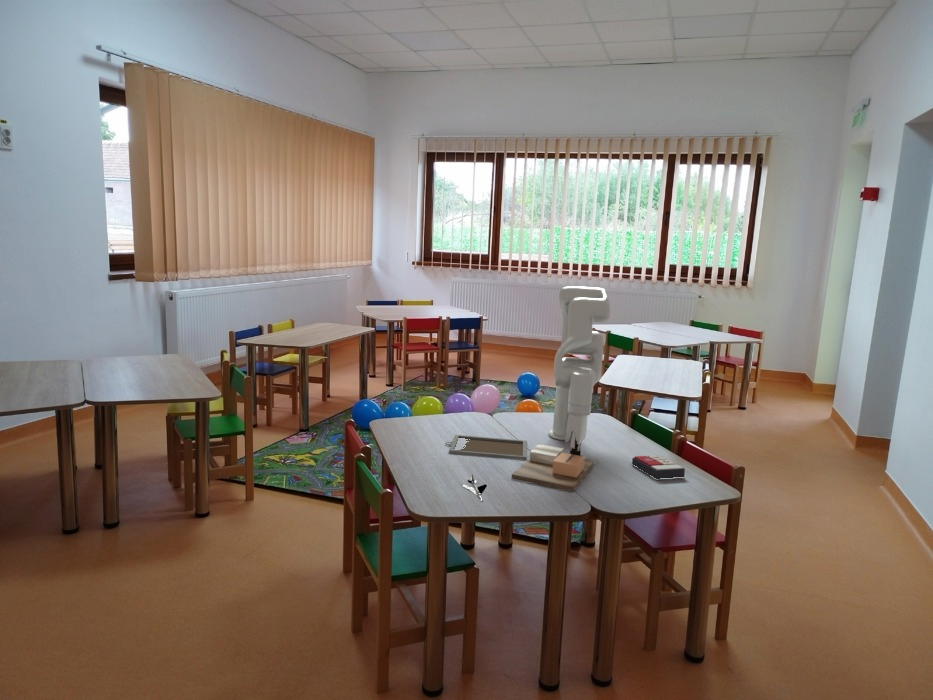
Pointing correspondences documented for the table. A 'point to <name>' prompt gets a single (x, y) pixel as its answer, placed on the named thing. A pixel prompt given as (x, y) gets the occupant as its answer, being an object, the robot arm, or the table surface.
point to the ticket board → (548, 469)
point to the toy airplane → (475, 488)
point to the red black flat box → (658, 466)
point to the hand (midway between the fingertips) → (574, 461)
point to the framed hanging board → (491, 447)
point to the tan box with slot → (568, 465)
